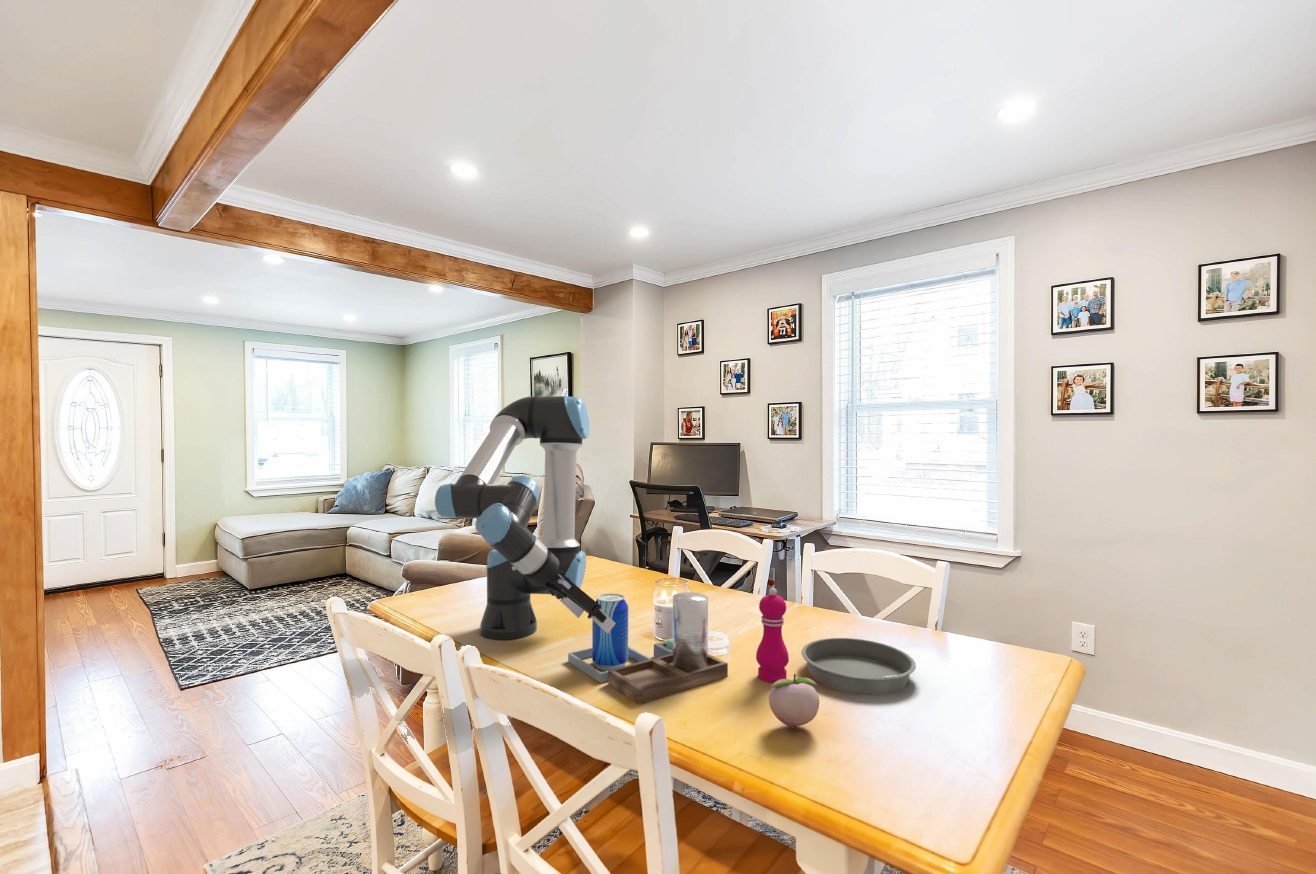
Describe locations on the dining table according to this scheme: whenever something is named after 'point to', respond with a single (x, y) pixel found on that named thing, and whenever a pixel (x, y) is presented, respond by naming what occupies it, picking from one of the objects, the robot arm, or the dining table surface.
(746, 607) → the dining table surface
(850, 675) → the cake pan
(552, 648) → the dining table surface
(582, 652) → the frame
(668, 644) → the button
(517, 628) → the robot arm
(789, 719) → the decorative fruit
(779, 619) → the pepper mill
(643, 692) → the wooden divided tray
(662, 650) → the button housing
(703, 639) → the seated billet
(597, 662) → the beer can
